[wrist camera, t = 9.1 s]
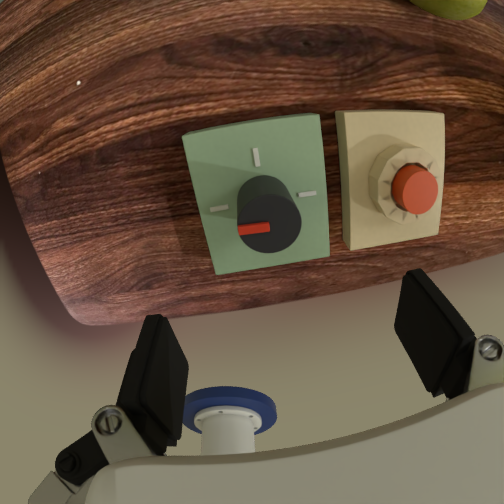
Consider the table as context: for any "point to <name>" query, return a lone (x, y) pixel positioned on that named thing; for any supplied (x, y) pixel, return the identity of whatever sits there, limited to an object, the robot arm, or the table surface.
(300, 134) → the dial base
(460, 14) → the apple
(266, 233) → the dial
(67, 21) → the table surface
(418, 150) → the button base
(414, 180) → the stop button
